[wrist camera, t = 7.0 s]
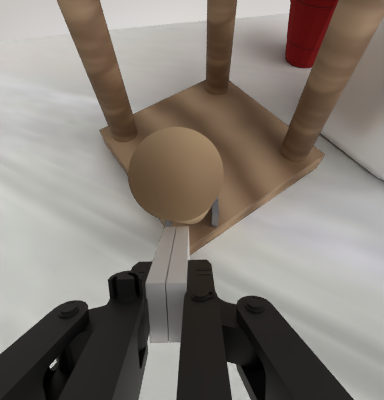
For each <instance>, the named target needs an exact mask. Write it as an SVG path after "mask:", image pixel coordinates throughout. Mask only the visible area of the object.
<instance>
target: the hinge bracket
mask: <svg viewBox="0 0 384 400" xmlns="http://www.w3.org/2000/svg"><path fill="white" fill-rule="evenodd" d="M210 209H211V227H217V225H218V218H219V205H218V196H217V198H216V200H215V201H214V203H213V204H212V206H211V208H210ZM164 223H165V226H166V227H172V221H169V220H164Z"/></svg>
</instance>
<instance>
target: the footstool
mask: <svg viewBox="0 0 384 400" xmlns="http://www.w3.org/2000/svg"><path fill="white" fill-rule="evenodd" d="M57 2H58V5H59V7H60V9H61V12H62V14H63V16H64V19H65V22H66V24H67V26H68V29H69V31H70V34H71V36H72V39H73V41H74V43H75V46H76V48H77V51H78V53H79V56H80V58H81V60H82V63H83V65H84V68H85V70H86V72H87V75H88V77H89V80H90V82H91V85H92V87H93V89H94V92H95V94H96V97H97V99H98V102H99V104H100V106H101V109H102V111H103V114H104V116H105V119H106V121H107V123H108V126H107V127H105V128H103V129H101V130H99V131H100V133H101V135H102V137H103V139H104V142H105V144H106V145H107V147H108V148H109V149H110V151H111V152H112V154H113V155H114V156H115V158H116V159H117V161H118V162H119V163H120V165H121V166H122V168H123V169H124V170H125V172H126V173H127V175H128V169H129V163H130V160H131V157H132V155H133V153H134V151H135V149H136V148H137V146H138V145H139V144H140V143H141V142H142V141H143V140H144V139H145V138H146V137H147V136H149V135H150V134H152V133H154V132H156V131H158V130H161V129H164V128H169V127H184V128H189V129H192V130H195V131H197V132H199V133H201V134H202V135H204V136H205V137H206V138H208V139H209V140H210V141H211V142H212V143H213V145H214V146H215V147H216V149H217V151H218V153H219V154H220V157H221V160H222V164H223V172H224V173H223V183H222V187H221V190H220V192H219V194H218V205H219V218H218V225H217V227H211V209H209V211H208V212H207V214H206V216H205V217H204V218H203V219H202V220H201V221H200V222H198V223H196V224H185V223H180V222H174V221H172V227H176V228H177V227H182V226H189V251H190V255H191V254H192V253H194V252H195V251H197V250H198V249H200V248H201V247H203V246H204V245H205V244H207V243H208V242H210V241H211V240H213V239H214V238H216V237H217V236H218V235H220V234H221V233H223V232H224V231H226V230H227V229H229V228H230V227H232V226H233V225H234V224H236V223H237V222H239V221H240V220H242V219H243V218H245V217H246V216H247V215H249V214H250V213H252V212H253V211H255V210H256V209H258V208H259V207H260V206H262V205H263V204H265V203H266V202H268V201H269V200H271V199H272V198H273V197H275V196H276V195H278V194H279V193H281V192H282V191H284V190H285V189H286V188H288V187H289V186H291V185H292V184H294V183H295V182H297V181H298V180H300V179H301V178H302V177H304V176H305V175H307V174H308V173H310V172H311V171H313V170H314V169H315V168H317V166H318V165H319V163H320V162H321V160H322V158H323V157H324V155H325V154H324V153H322V152H321V151H320V150H318V149H317V148H316V147H315V146H313V145H314V143H315V141H316V140H317V138H318V136H319V134H320V132H321V130H322V129H323V127H324V125H325V123H326V121H327V119H328V118H329V116H330V114H331V112H332V110H333V108H334V107H335V105H336V103H337V101H338V99H339V98H340V96H341V94H342V92H343V90H344V88H345V87H346V85H347V83H348V81H349V79H350V77H351V76H352V74H353V72H354V70H355V68H356V66H357V65H358V63H359V61H360V59H361V57H362V55H363V54H364V52H365V50H366V48H367V46H368V45H369V43H370V41H371V39H372V37H373V35H374V34H375V32H376V30H377V28H378V26H379V24H380V23H381V21H382V19H383V17H384V0H339V1H338V3H337V6H336V8H335V11H334V13H333V16H332V19H331V21H330V24H329V26H328V29H327V31H326V34H325V36H324V39H323V41H322V44H321V47H320V49H319V52H318V54H317V57H316V59H315V62H314V64H313V67H312V69H311V72H310V75H309V77H308V80H307V82H306V85H305V87H304V90H303V92H302V95H301V97H300V100H299V103H298V105H297V108H296V110H295V113H294V115H293V118H292V120H291V123H290V125H289V126H287V125H286V124H285V123H283V122H282V121H281V120H280V119H278V118H277V117H276V116H274V115H273V114H272V113H271V112H269V111H268V110H267V109H265V108H264V107H263V106H261V105H260V104H259V103H258V102H256V101H255V100H254V99H252V98H251V97H250V96H249V95H247V94H246V93H245V92H243V91H242V90H241V89H239V88H238V87H237V86H236V85H234V84H233V83H232V82H230V81H229V73H230V64H231V54H232V44H233V34H234V25H235V15H236V5H237V0H207V53H206V80H204V81H202V82H200V83H198V84H196V85H194V86H192V87H190V88H188V89H185V90H183V91H181V92H179V93H177V94H175V95H173V96H171V97H169V98H166V99H164V100H162V101H160V102H158V103H156V104H154V105H152V106H150V107H147V108H145V109H143V110H141V111H139V112H137V113H135V114H132V110H131V107H130V104H129V100H128V97H127V93H126V90H125V86H124V83H123V79H122V76H121V72H120V69H119V66H118V62H117V59H116V55H115V52H114V48H113V45H112V41H111V38H110V34H109V31H108V28H107V24H106V21H105V18H104V14H103V10H102V7H101V3H100V0H57ZM159 219H160V218H159ZM160 221H161V222H162V224H163V225H164V226H165V223H164V220H163V219H160ZM165 227H166V226H165Z"/></svg>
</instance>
